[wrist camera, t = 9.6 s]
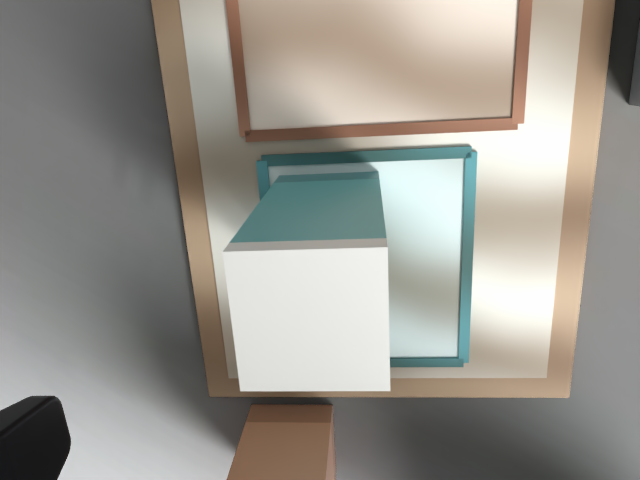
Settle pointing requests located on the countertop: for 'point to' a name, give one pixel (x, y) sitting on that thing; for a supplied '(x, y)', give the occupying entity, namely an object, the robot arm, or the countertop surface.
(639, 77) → the button pad
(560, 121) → the colouring board
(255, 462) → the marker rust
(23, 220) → the countertop surface
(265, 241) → the teal white tall block
